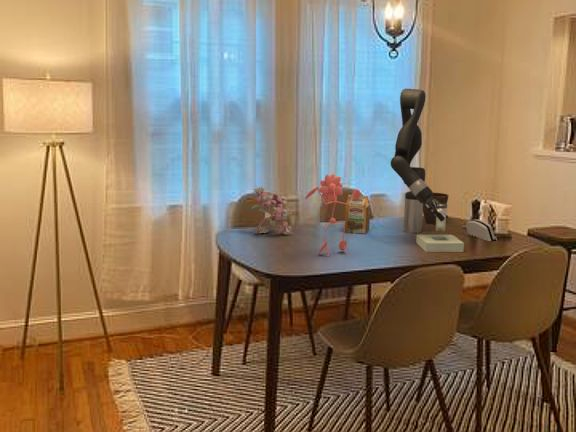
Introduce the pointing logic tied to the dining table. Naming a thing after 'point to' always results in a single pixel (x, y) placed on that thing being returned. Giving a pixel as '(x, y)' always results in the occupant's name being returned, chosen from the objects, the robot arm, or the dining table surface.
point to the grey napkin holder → (480, 229)
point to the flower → (277, 212)
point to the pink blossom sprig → (331, 192)
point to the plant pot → (427, 215)
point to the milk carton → (357, 215)
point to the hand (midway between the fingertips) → (444, 219)
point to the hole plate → (440, 243)
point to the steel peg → (442, 209)
